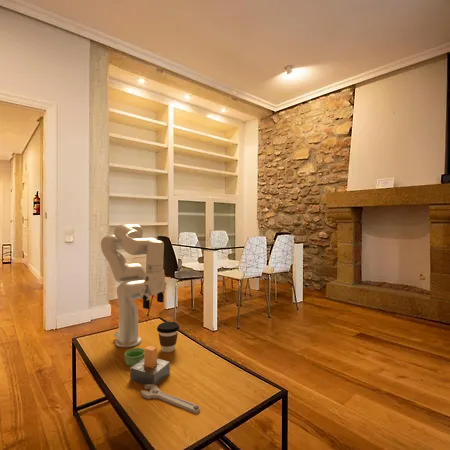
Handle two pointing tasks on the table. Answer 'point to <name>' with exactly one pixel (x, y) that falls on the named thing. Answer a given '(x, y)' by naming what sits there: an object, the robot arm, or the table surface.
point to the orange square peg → (150, 357)
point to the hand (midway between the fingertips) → (153, 305)
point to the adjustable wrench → (168, 398)
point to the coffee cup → (168, 335)
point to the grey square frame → (150, 372)
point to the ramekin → (134, 356)
